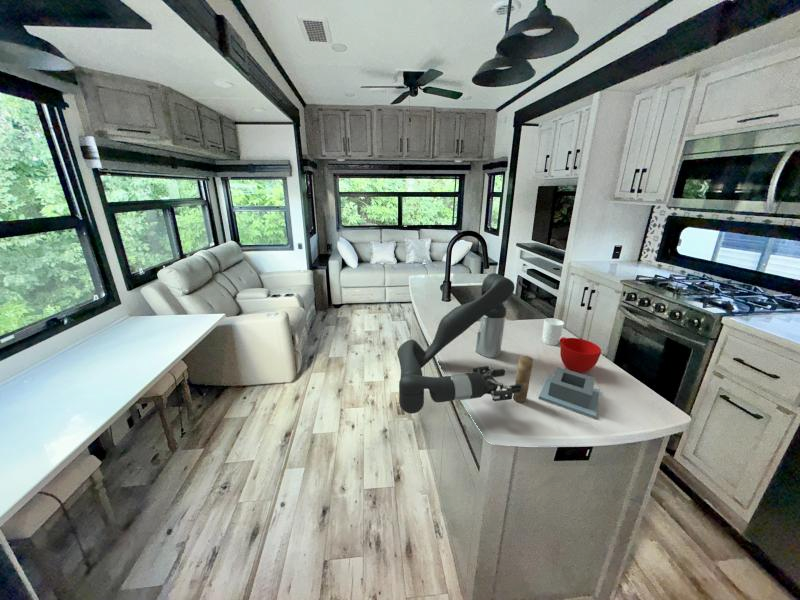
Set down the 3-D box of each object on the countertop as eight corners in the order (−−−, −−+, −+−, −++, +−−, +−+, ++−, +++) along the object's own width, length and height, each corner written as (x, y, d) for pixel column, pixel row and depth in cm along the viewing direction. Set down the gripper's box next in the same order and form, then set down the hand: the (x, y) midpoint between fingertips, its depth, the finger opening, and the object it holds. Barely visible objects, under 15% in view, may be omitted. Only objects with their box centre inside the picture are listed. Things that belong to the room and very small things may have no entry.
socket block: (538, 398, 100) (541, 383, 98) (548, 376, 113) (551, 361, 111) (595, 419, 92) (600, 402, 90) (599, 392, 104) (603, 377, 102)
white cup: (540, 344, 136) (544, 323, 133) (540, 336, 143) (544, 317, 140) (560, 347, 134) (564, 326, 130) (558, 339, 141) (563, 319, 137)
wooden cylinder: (511, 400, 99) (517, 359, 94) (514, 393, 103) (521, 354, 97) (524, 404, 97) (531, 363, 92) (527, 398, 100) (534, 358, 95)
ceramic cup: (571, 354, 128) (576, 332, 125) (603, 377, 113) (610, 353, 109) (543, 356, 126) (547, 334, 123) (571, 380, 111) (577, 355, 107)
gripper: (453, 383, 99) (498, 377, 103) (474, 412, 86) (524, 404, 90) (455, 362, 96) (501, 357, 100) (477, 389, 83) (529, 382, 88)
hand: (512, 379), depth 95 cm, fingers open, 8 cm apart
